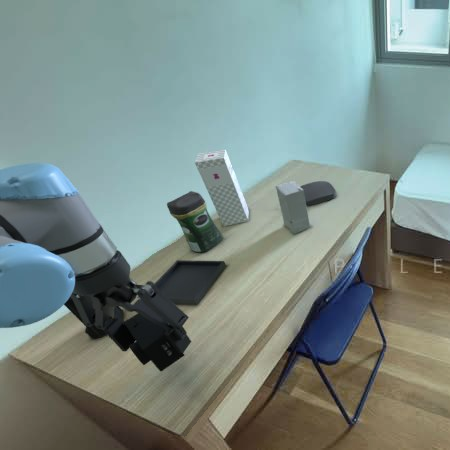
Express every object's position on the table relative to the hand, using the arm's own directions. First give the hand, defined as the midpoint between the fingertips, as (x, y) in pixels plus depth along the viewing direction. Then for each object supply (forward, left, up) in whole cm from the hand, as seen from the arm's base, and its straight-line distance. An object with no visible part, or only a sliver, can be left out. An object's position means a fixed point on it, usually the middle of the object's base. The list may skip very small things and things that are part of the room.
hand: (157, 346), depth 60 cm
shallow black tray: (+26, +16, -10) cm, 32 cm away
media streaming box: (+77, -7, -11) cm, 78 cm away
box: (+60, +19, -11) cm, 64 cm away
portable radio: (+11, +27, -11) cm, 31 cm away
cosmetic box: (+55, -7, -11) cm, 57 cm away
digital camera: (0, 0, -2) cm, 2 cm away
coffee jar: (+44, +21, -11) cm, 50 cm away
